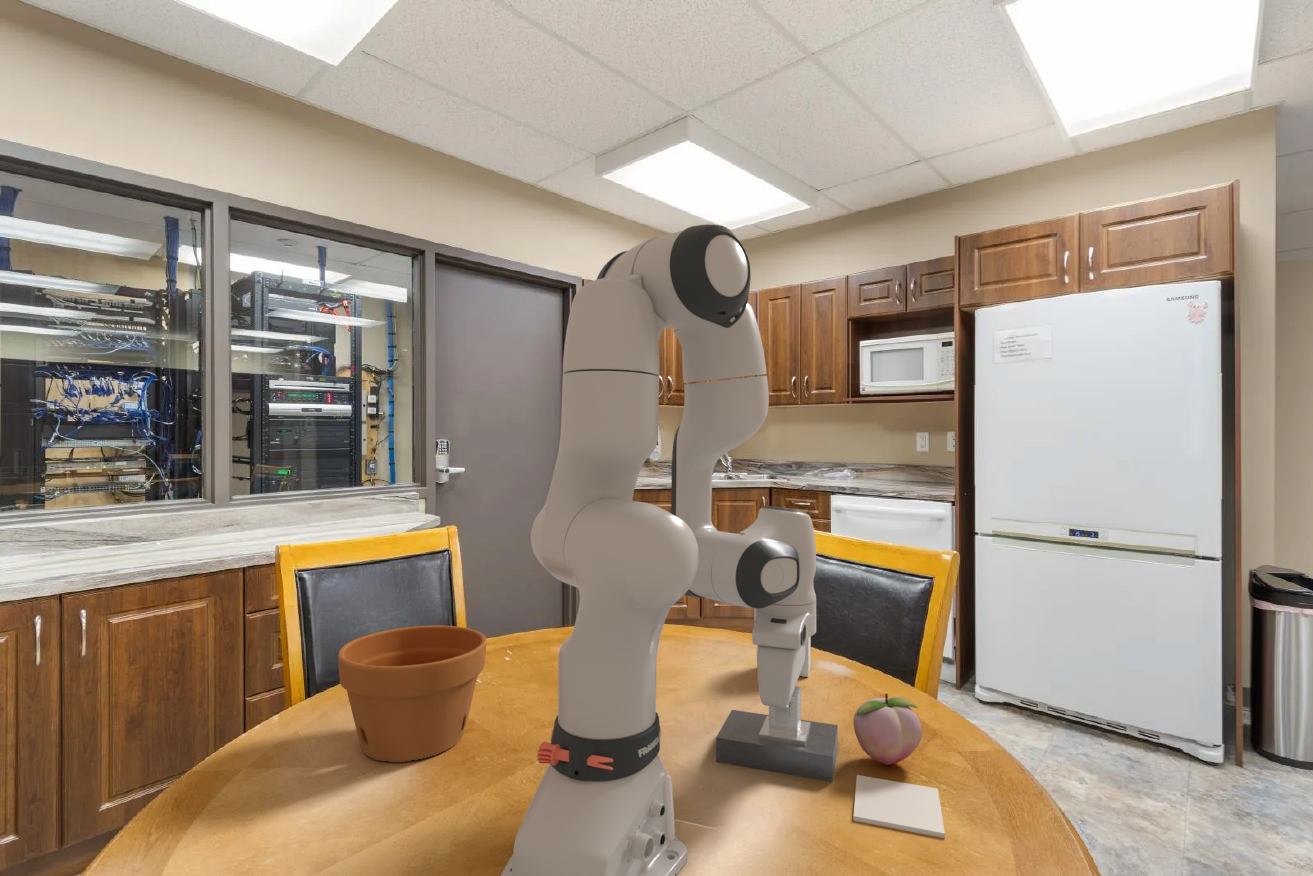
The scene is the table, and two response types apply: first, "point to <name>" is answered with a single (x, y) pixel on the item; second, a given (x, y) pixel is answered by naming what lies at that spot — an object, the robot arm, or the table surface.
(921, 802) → the pad
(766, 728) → the peg
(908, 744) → the decorative fruit
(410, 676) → the flower pot
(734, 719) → the post block
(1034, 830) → the table surface
